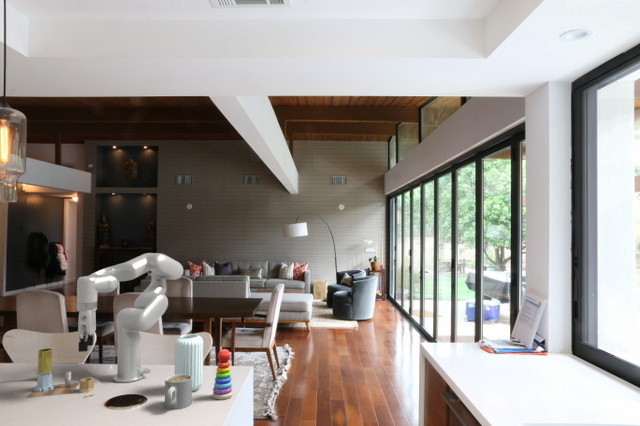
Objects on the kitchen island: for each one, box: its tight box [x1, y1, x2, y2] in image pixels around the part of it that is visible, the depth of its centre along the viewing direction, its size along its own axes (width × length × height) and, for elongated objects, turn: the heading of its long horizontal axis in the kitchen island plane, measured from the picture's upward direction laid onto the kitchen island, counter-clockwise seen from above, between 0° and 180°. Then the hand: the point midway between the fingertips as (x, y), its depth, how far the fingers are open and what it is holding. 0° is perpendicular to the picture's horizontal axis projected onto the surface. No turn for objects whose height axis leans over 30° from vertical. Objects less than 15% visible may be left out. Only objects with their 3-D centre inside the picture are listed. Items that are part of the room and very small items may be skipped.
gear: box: [33, 372, 56, 392], centre depth 184 cm, size 7×7×6 cm
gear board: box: [26, 371, 80, 399], centre depth 184 cm, size 16×14×8 cm
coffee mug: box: [164, 374, 193, 411], centre depth 170 cm, size 13×10×10 cm
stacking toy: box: [211, 348, 234, 400], centre depth 180 cm, size 8×8×19 cm
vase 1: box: [37, 348, 53, 375], centre depth 198 cm, size 6×6×14 cm
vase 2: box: [174, 333, 204, 393], centre depth 189 cm, size 12×12×22 cm
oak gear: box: [78, 376, 95, 398], centre depth 183 cm, size 7×7×6 cm
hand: (85, 348), depth 184 cm, fingers open, 9 cm apart
